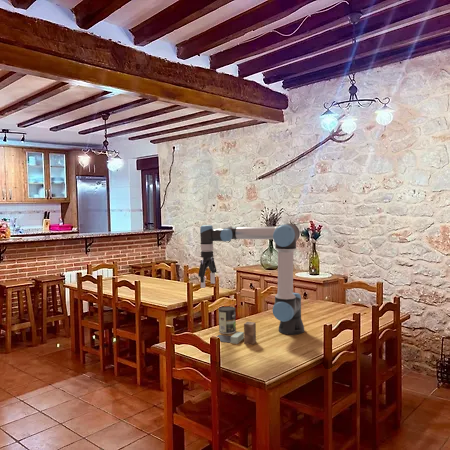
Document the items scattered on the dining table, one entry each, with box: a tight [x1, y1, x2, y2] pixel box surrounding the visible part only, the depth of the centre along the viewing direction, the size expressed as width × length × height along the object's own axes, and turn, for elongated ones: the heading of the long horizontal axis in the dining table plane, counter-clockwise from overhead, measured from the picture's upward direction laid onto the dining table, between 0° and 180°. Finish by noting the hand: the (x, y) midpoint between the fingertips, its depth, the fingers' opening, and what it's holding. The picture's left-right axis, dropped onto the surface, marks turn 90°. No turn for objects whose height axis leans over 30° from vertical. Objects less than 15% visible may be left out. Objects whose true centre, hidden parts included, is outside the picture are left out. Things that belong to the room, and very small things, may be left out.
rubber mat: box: [216, 334, 232, 344], centre depth 247 cm, size 11×10×1 cm
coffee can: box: [218, 305, 237, 335], centre depth 261 cm, size 10×10×14 cm
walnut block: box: [243, 321, 257, 346], centre depth 240 cm, size 5×5×11 cm
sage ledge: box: [230, 331, 244, 345], centre depth 244 cm, size 4×10×4 cm, turn 157°
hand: (208, 285), depth 264 cm, fingers open, 13 cm apart
